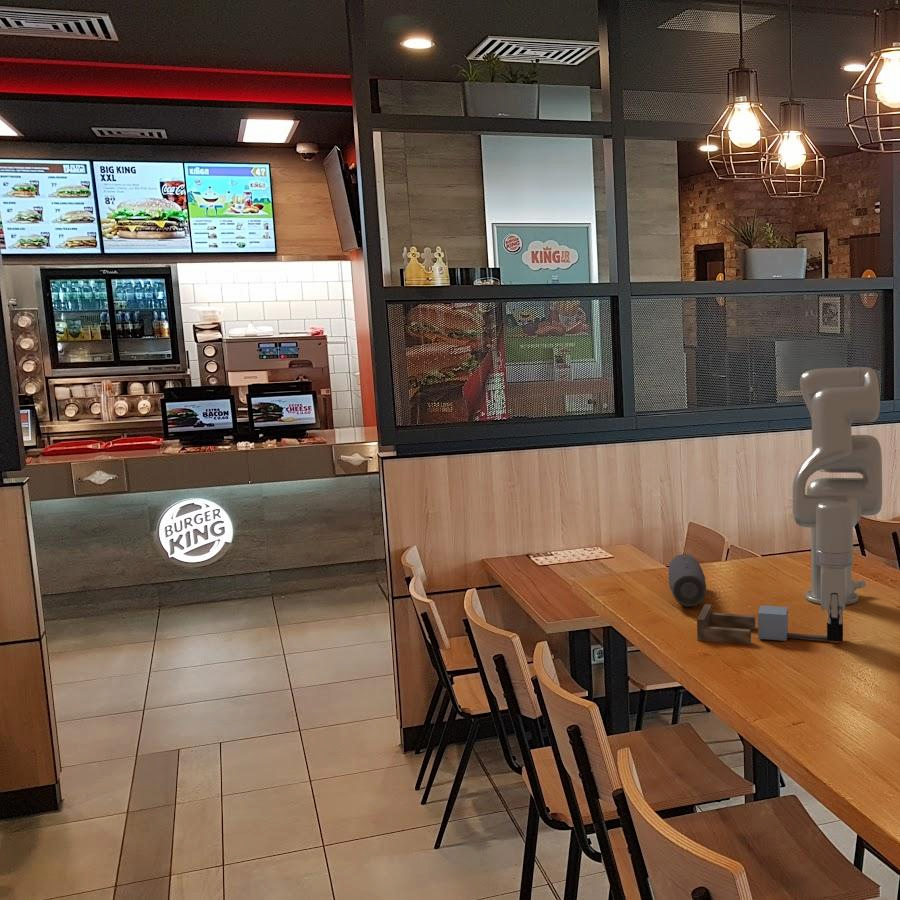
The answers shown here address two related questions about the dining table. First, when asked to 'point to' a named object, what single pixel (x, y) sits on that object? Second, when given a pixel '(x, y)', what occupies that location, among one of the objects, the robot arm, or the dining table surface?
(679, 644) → the dining table surface
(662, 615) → the dining table surface
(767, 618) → the block
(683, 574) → the bluetooth speaker
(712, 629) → the dark u-shaped frame
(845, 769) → the dining table surface
